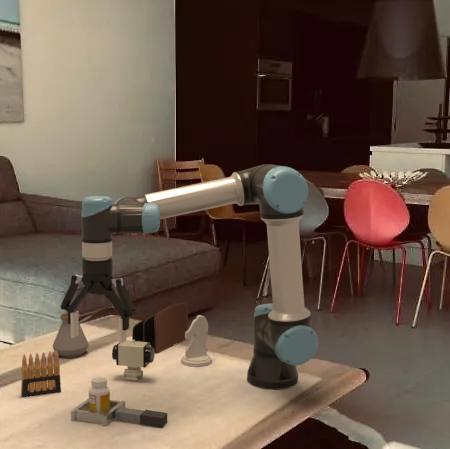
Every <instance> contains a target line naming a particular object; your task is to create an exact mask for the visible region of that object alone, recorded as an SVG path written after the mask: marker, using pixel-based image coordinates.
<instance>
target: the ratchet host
mask: <svg viewBox="0 0 450 449" xmlns="http://www.w3.org/2000/svg"><path fill="white" fill-rule="evenodd" d="M70 421H74V422H76V421H77V422H85V423H89V424H90V423H91V424H97V425H102V426H104V427H107V426H109V424H111V423H112V422H113V421H117V422H122V423H129V424H135V425H141V426H146V427H147V426H148V427H154V428H160V429H162V428H163V427H165V425H167V424H168V412H166V411H164V412H163V411H157V410H152V409H151V410H150V409H145V410H144V409H137V408H136V409H135V408H130V407H126V400H116V399H110V411H108V412H107V413H106V414H103V413H97V412H90V411H89V397H88V398H87V399H86V400H84V401H83V402H81V403H80V404H79V405H78V406H76V407H75V408H73V409H72V410H70Z"/></svg>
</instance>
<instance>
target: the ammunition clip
mask: <svg viewBox="0 0 450 449" xmlns="http://www.w3.org/2000/svg"><path fill="white" fill-rule="evenodd" d="M27 361H28V364H27ZM40 362H41V364H40ZM60 367H61V366H60V358H59V354H58V352H57V351H56V352H55V351H54V361H53V354H52V352H51V351H49V352H48V356H47V359H46V354H45V352H44V351H43V352H42V353H41V361H40V356H39V353H38V352H36V354H35V358H33V355H32V353H30V354H29V356H28V360H27V356H26V354H25V353H24V354H23V355H22V362H21V387H20V388H21V389H20V392H21V393H20V395H21V397H22V398H23V397H24V398H29V397H30V396H31V397H38V396H44V395H51V394H52V395H53V394H59V393H62V386H61V374H60V373H61V372H60V369H61V368H60ZM31 397H30V398H31Z"/></svg>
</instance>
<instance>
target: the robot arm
mask: <svg viewBox="0 0 450 449" xmlns="http://www.w3.org/2000/svg"><path fill="white" fill-rule="evenodd" d="M308 197H309V186H308V183H307V180H306V179H305V177H304V176H303V175H302V174H301V173H300V172H299V171H298V170H296V169H294V168H292V167H289V166H285V165H283V166H282V165H277V164H272V163H268V164H261V165H257V166H254V167H251V168H247V169H244V170H239V171H234V172H232V174H231V175H230V176H229V177H228V176H227V177H225V178H218V179H214V180H213V179H212V180H209V181H203V182H198V183H193V184H189V185H184V186H178V187H176V188H170V189H165V190H161V191H160V190H159V191H155V192H149V193H146V194H141V195H136V196H122V197H120V198H118V199H116V201H115V202H114V203H113V200H112V198H111V197H110V196H105V195H102V196H101V195H93V196H91V195H90V196H86V197H84V198H83V199H82V201H81V214H80V218H81V256H82V259H81V260H82V262H81V263H82V265H81V266H82V268H81V269H82V270H81V271H82V275H80V273H76V274H73V275H71V277H70V284H69V287H68V289H67V291H66V293H65V296H64V298H63V299H62V302H61V305H60V309H61V310H64V311H66V313H68V324H71V338H75V337H76V336H78V335H79V324H78V322H79V320H78V314H79V310H77V308H78V307H79V306H80V305H81V303H82V302H83V301H84V300H85V298H86V297H87V295H89V294H90V295H98V296H103V295H104V297H105V298H107V299H108V301H109V302H110V304H111V303H112V304H113V305H112V306H113V308H114V307H115V310H116V311H117V313H118V314H119V315H120V317H118V343H121V344H122V343H123V342H125V341H127V330H129V329H130V317H132V316H134V315H136V314H137V310H136V308H135V305H134V303H133V300H132V298H131V297H130V294H129V292H128V290H127V288H126V283H125V278H124V277H123V276H122V277H119V278H114V277H113V272H114V271H113V259H112V256H113V235H119V234H120V235H121V234H122V235H123V234H125V235H127V234H145V235H146V234H150V233H151V234H152V233H156V232H158V231H159V229H160V225H161V220H163V219H167V218H168V219H169V218H171V217H172V218H173V217H177V216H181V215H186V214H187V215H188V214H192V213H196V212H201V211H206V210H210V209H214V208H215V209H216V208H220V207H225V206H229V205H233V204H237V206H240V207H242V206H247V205H259V214H260V219H261V220H262V221H263V222H264V223H265V224H266V230H267V245H268V257H269V271H270V283H271V284H270V286H271V296H272V298H271V299H272V303H263V304H259V305H257V306H256V307H255V308H254V313H253V353H252V354H253V355H252V357H251V361H250V363H249V367H248V369H247V372H246V380H247V382H248V384H250V385H252V386H254V387H257V388H261V389H267V390H279V389H280V390H281V389H288V388H291V387H294V386H296V385H297V384H298V383H299V372H298V369H297V366H300V365H301V366H302V365H304V364H305V363H307V362H309V361H310V360H311V359H312V358H313V357H314V356H315V354H316V352H317V351H318V347H319V338H318V337H319V336H318V334H317V333H316V331H315V329H313V328H312V318H311V311H310V310H309V309H308V308H307V307H305V296H304V282H303V268H302V267H303V266H302V256H301V255H302V253H301V238H300V224H299V223H300V220H302V218H303V217H304V215H305V214H304V213H305V212H304V206H305V204H306V202H307V200H308ZM81 283H82V284H83V288H82V289H81V290H80V291H79V294H78V295H77V296H76V297H75V299H74V300H73V298H74V296H75V295H76V292H77V289H78V287H79V286H80V284H81ZM113 285H114V287H115V288H116V291H117V294H116V291H115V289H114V288H113V287H112V286H113Z"/></svg>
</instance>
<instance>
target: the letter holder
mask: <svg viewBox="0 0 450 449" xmlns="http://www.w3.org/2000/svg"><path fill="white" fill-rule="evenodd" d="M188 307H189V306H188V303H186V302H178V303H174V304H171V305H168V306H167V307H165V308H163V309H161V310H159V311H157V312H156V313H155V314H153V315H151V316H150V317H147V318H144V319H142V320H141V321H139V322H138V323H136V324H134V325H133V327H132V336H131V337H132V338H131V341H132V340H135V341H137V342H138V341H140V342H150V346H151V348H154V352H155V354H158V353H160V352H162V351H164V350H167V349H169V348H171V347H173V346H175V345H174V344H176V343H178V344H180V343H182V342H184V341H186V340H185V332H187V331H188V330H189V322H188V321H189V314H188V312H189V309H188ZM183 340H184V341H183ZM181 341H182V342H181ZM179 342H180V343H179ZM176 345H177V344H176Z"/></svg>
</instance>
